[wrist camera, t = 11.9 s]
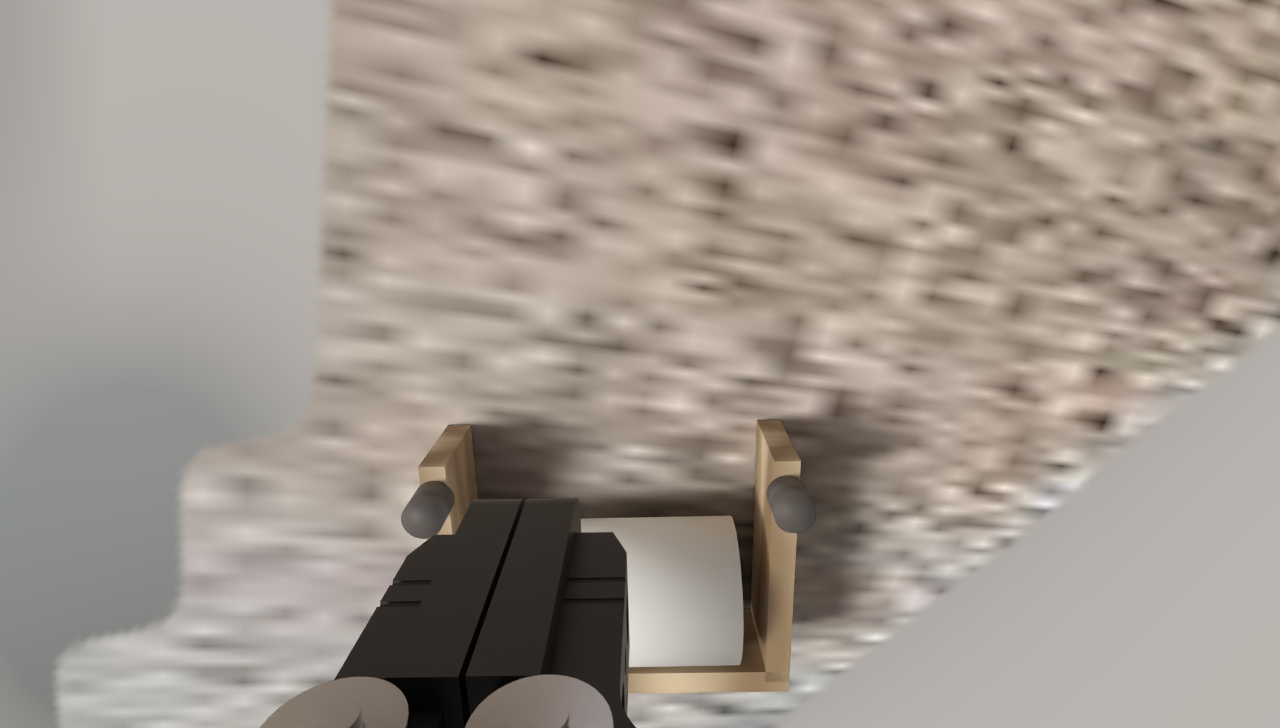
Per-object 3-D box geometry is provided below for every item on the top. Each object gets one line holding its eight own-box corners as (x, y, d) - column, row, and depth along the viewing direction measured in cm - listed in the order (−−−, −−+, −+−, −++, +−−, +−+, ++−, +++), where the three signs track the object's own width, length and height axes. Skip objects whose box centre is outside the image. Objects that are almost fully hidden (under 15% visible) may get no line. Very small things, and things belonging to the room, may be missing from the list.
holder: (785, 419, 36) (818, 481, 29) (776, 626, 40) (803, 722, 33) (442, 425, 36) (396, 487, 30) (465, 630, 40) (429, 726, 33)
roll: (731, 627, 39) (728, 500, 38) (750, 694, 32) (747, 538, 31) (509, 631, 39) (505, 505, 39) (478, 699, 32) (473, 544, 31)
